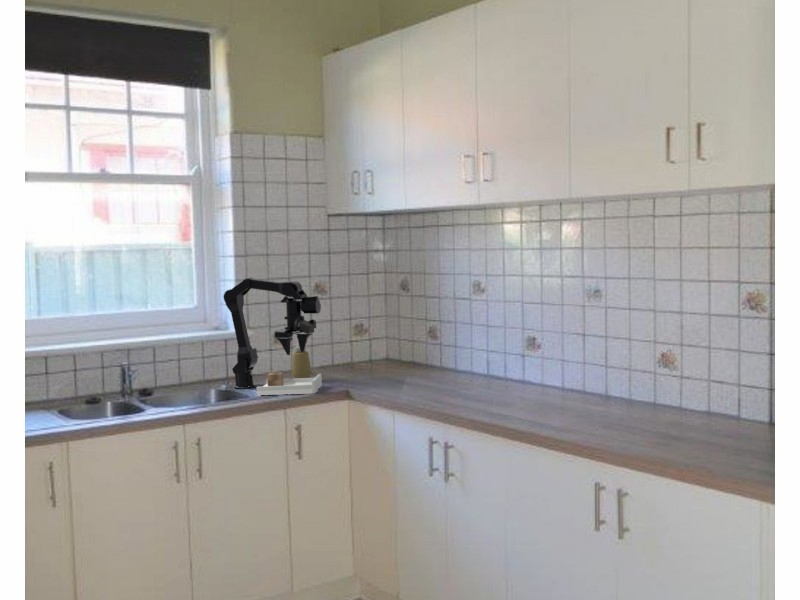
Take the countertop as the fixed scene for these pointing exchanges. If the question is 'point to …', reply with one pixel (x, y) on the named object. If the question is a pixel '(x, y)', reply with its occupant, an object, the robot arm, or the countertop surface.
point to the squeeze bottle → (300, 363)
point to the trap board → (292, 386)
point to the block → (275, 379)
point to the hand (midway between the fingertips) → (295, 353)
